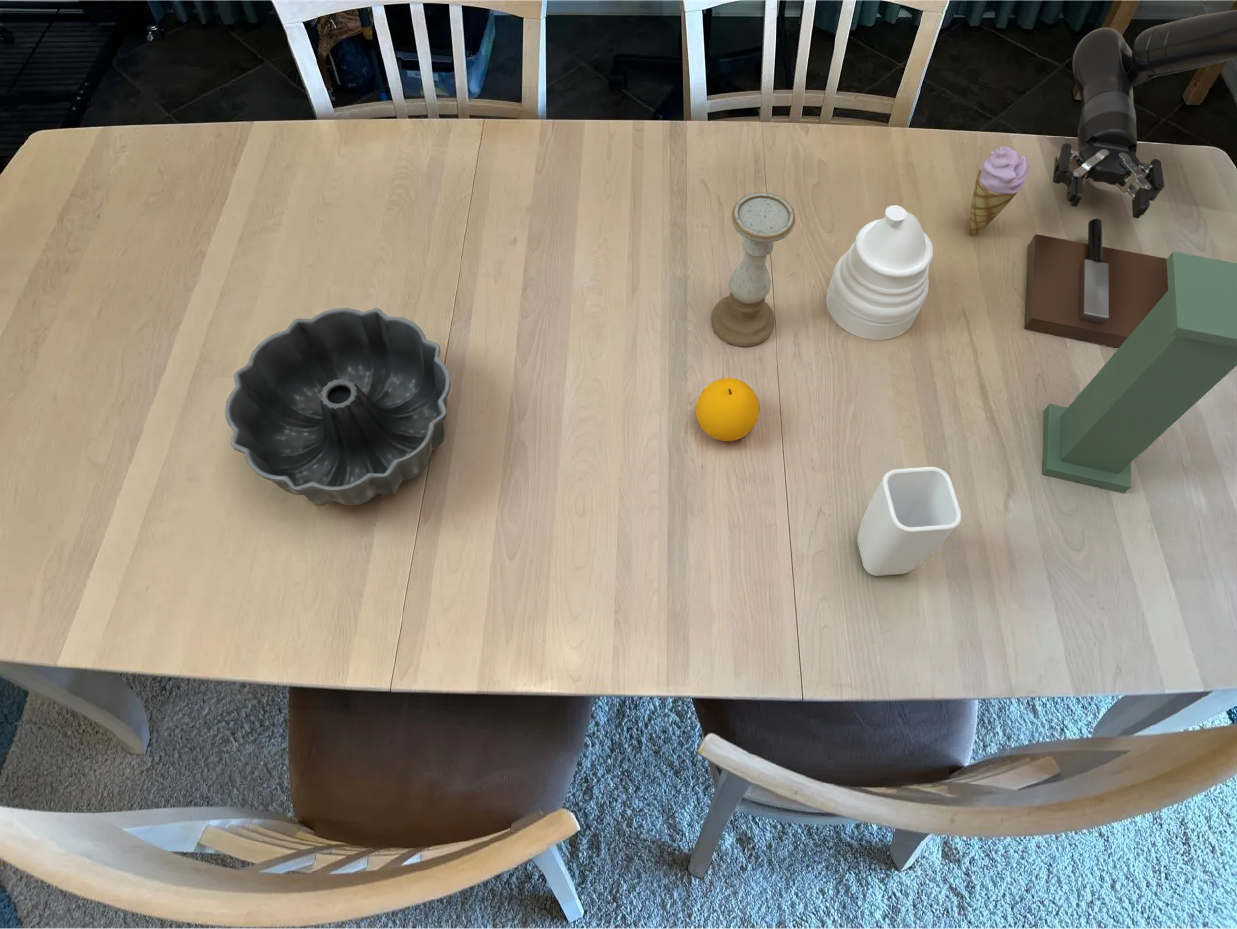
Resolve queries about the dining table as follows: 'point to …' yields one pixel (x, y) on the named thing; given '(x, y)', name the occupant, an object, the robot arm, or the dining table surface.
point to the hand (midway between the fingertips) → (1107, 207)
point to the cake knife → (1094, 278)
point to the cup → (907, 520)
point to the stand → (1148, 377)
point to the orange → (727, 409)
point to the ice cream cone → (996, 186)
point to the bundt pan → (340, 405)
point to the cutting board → (1058, 290)
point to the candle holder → (752, 270)
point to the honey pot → (882, 277)
